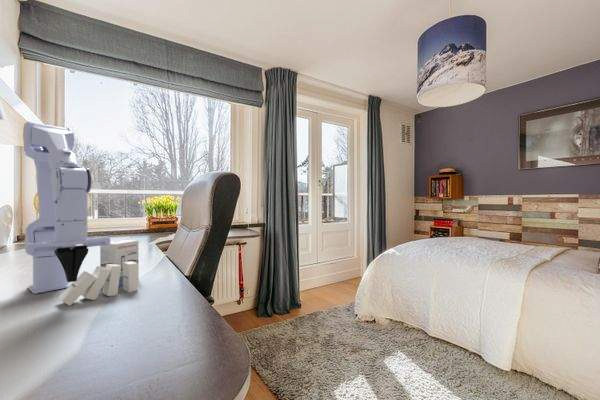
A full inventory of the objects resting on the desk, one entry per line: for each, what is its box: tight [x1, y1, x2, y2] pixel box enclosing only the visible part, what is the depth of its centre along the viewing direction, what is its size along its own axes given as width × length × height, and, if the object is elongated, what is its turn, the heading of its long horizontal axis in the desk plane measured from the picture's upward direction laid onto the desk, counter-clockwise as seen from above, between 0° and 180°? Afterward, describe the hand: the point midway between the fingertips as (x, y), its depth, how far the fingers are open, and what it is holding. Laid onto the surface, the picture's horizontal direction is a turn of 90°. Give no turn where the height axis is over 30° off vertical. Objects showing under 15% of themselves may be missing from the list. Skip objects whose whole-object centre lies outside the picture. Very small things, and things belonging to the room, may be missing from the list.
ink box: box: [99, 239, 139, 288], centre depth 78 cm, size 9×5×12 cm, turn 168°
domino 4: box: [122, 261, 139, 293], centre depth 72 cm, size 4×2×7 cm, turn 51°
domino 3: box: [102, 264, 121, 297], centre depth 69 cm, size 4×2×7 cm, turn 51°
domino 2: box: [80, 265, 111, 301], centre depth 66 cm, size 4×2×7 cm, turn 51°
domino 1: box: [57, 270, 97, 307], centre depth 64 cm, size 4×2×7 cm
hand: (71, 281), depth 63 cm, fingers closed
